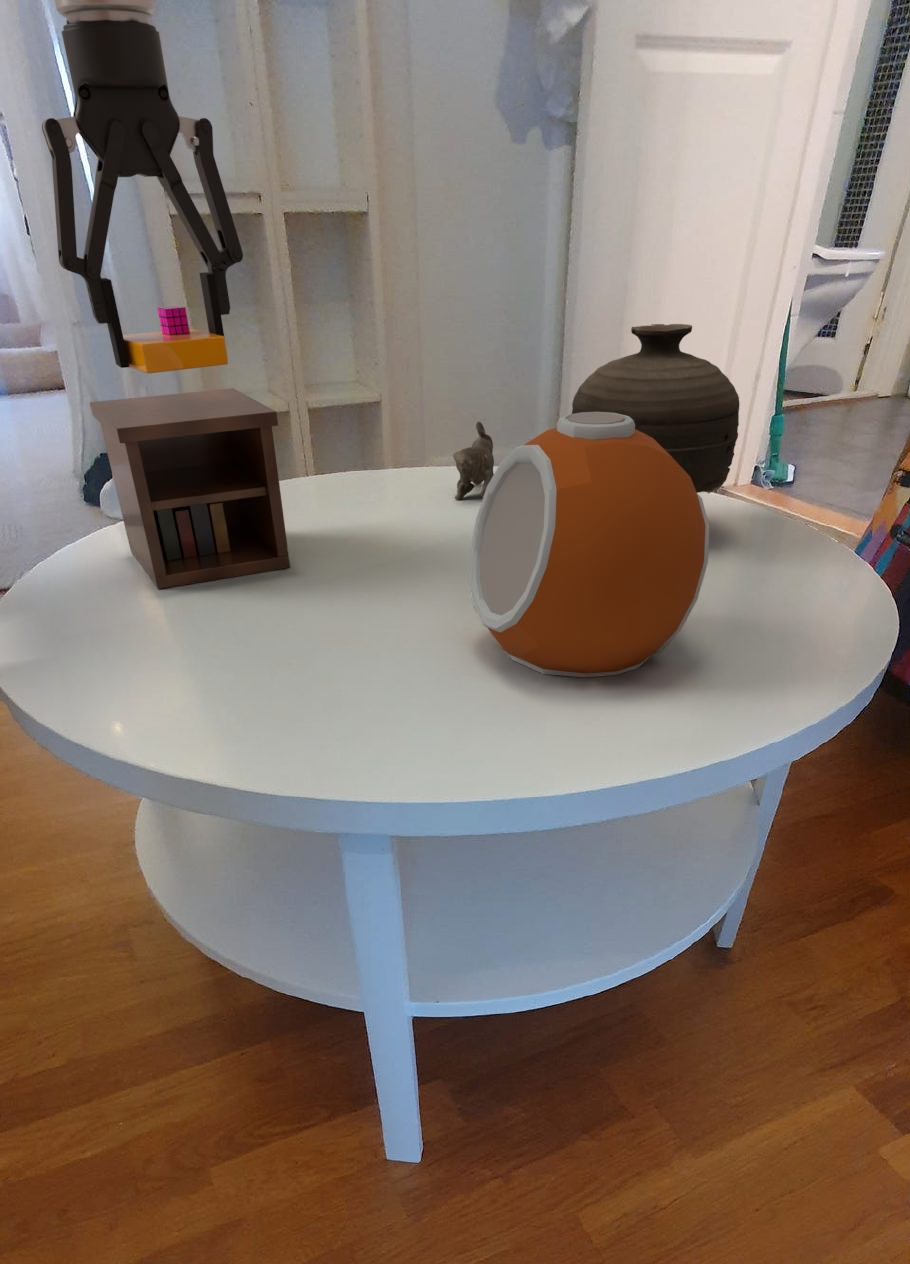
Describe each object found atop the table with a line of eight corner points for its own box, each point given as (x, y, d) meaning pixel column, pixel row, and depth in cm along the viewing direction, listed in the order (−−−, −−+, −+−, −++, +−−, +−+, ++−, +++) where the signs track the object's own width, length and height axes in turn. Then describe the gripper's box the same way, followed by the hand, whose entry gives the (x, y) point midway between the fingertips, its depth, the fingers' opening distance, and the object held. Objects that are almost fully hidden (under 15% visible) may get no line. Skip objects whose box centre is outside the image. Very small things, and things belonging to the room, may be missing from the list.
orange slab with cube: (228, 364, 86) (220, 309, 83) (147, 374, 83) (136, 317, 80) (195, 355, 91) (186, 303, 88) (117, 363, 88) (105, 310, 85)
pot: (526, 518, 106) (550, 308, 93) (651, 512, 113) (690, 316, 100) (608, 565, 94) (649, 333, 81) (743, 556, 101) (801, 339, 88)
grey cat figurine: (459, 483, 122) (458, 419, 117) (502, 484, 121) (503, 420, 116) (443, 507, 113) (442, 439, 108) (490, 508, 112) (490, 440, 107)
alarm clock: (445, 624, 83) (439, 405, 72) (617, 598, 87) (637, 388, 76) (527, 710, 69) (536, 456, 58) (726, 675, 74) (770, 432, 62)
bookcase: (154, 592, 91) (116, 428, 82) (125, 551, 101) (89, 402, 92) (296, 568, 96) (276, 411, 86) (255, 531, 106) (233, 388, 97)
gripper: (-33, 10, 66) (61, 377, 81) (253, 20, 73) (291, 356, 87) (-40, 23, 71) (50, 366, 86) (228, 32, 78) (268, 347, 93)
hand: (172, 361), depth 87 cm, fingers closed on orange slab with cube, 9 cm apart
